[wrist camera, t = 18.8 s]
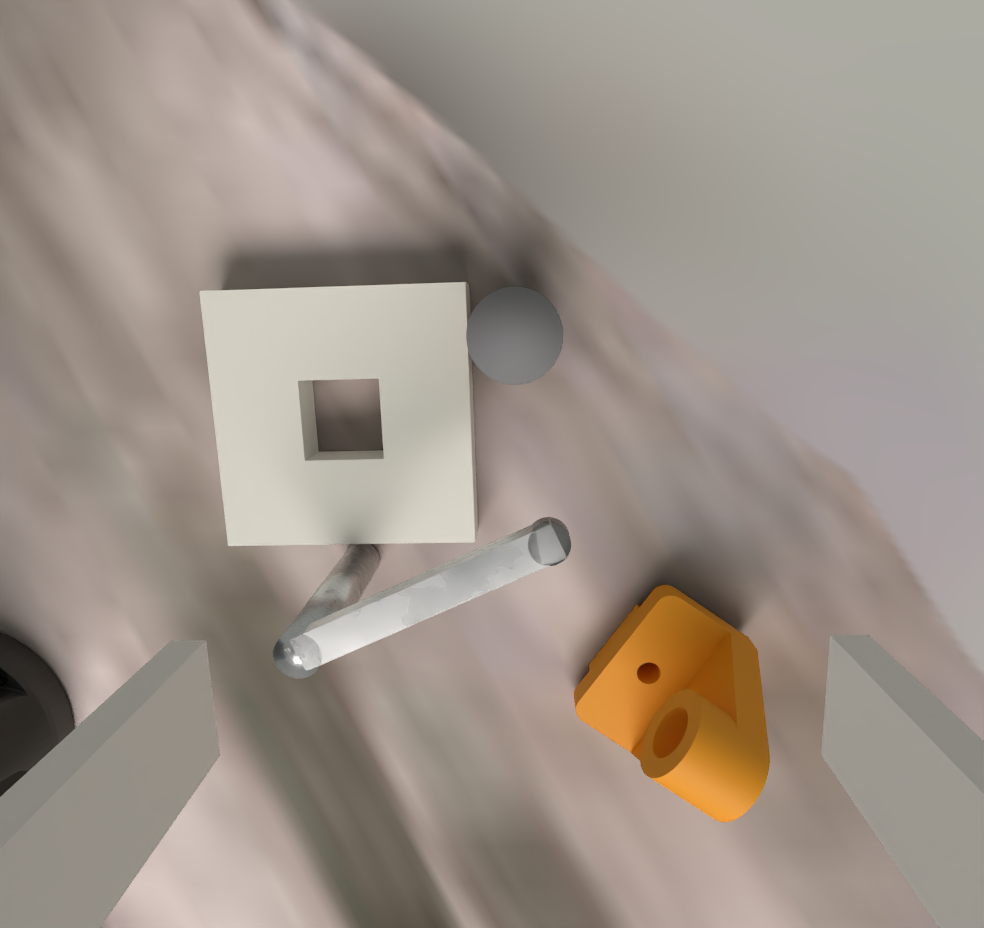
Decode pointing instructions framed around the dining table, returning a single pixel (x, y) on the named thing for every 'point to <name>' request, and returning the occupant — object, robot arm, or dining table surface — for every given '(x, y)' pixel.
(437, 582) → the handle
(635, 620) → the bracket
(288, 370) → the socket block
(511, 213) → the dining table surface
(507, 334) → the plug
